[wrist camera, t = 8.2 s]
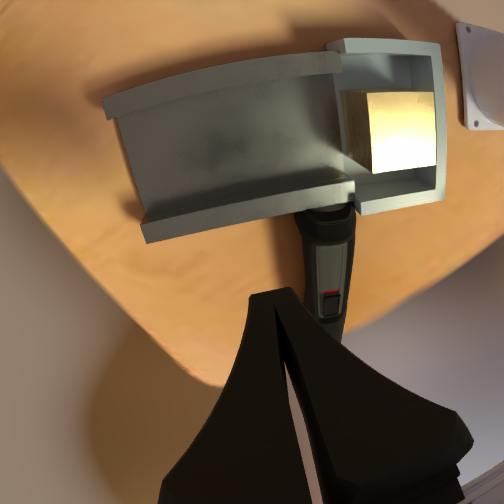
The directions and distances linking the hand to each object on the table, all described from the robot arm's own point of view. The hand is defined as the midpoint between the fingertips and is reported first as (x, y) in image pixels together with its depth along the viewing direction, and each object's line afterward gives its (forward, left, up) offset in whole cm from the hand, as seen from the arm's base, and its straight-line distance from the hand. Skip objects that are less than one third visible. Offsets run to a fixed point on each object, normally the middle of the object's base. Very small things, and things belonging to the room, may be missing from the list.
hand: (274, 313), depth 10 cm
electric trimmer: (-4, +7, -10) cm, 13 cm away
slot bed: (0, -4, -10) cm, 11 cm away
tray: (-9, -4, -10) cm, 14 cm away
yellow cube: (-8, -4, -9) cm, 13 cm away
